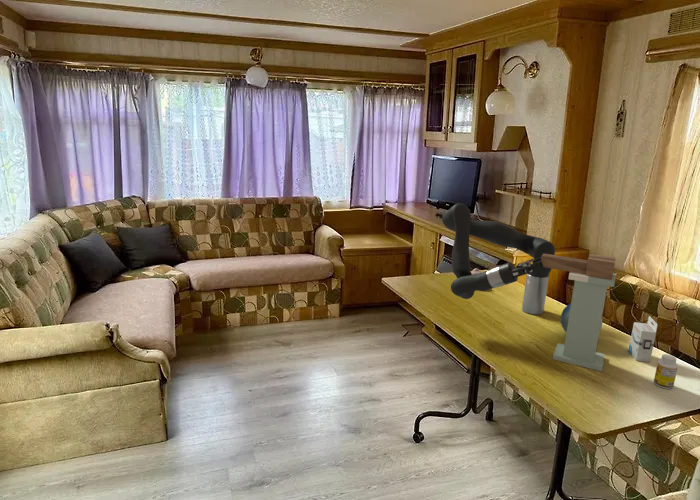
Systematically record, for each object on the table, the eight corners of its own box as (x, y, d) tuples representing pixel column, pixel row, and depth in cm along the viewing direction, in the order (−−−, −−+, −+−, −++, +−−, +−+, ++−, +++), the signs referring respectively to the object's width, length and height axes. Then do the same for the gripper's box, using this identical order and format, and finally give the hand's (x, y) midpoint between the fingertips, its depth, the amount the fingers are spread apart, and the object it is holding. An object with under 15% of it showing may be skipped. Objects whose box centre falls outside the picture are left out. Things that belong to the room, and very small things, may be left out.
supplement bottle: (654, 379, 165) (660, 351, 162) (674, 385, 161) (680, 356, 159) (651, 385, 161) (657, 356, 158) (671, 391, 157) (678, 362, 155)
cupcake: (472, 290, 248) (474, 271, 245) (461, 284, 256) (463, 266, 253) (487, 288, 251) (489, 269, 248) (476, 283, 259) (478, 264, 257)
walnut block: (542, 262, 181) (545, 247, 179) (612, 274, 170) (615, 257, 169) (539, 267, 174) (541, 251, 173) (611, 280, 163) (614, 262, 162)
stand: (557, 346, 186) (569, 265, 178) (604, 357, 179) (619, 273, 171) (552, 359, 176) (565, 273, 168) (601, 371, 169) (618, 282, 161)
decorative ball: (595, 333, 201) (601, 298, 197) (602, 348, 186) (609, 311, 183) (555, 328, 204) (561, 293, 201) (560, 342, 190) (566, 306, 187)
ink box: (627, 350, 186) (634, 314, 182) (641, 352, 185) (649, 315, 181) (635, 360, 178) (643, 322, 174) (650, 362, 177) (658, 324, 173)
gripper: (493, 270, 179) (536, 255, 171) (502, 262, 191) (543, 247, 183) (501, 289, 179) (545, 275, 171) (510, 279, 191) (551, 266, 183)
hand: (544, 261), depth 177 cm, fingers open, 8 cm apart
